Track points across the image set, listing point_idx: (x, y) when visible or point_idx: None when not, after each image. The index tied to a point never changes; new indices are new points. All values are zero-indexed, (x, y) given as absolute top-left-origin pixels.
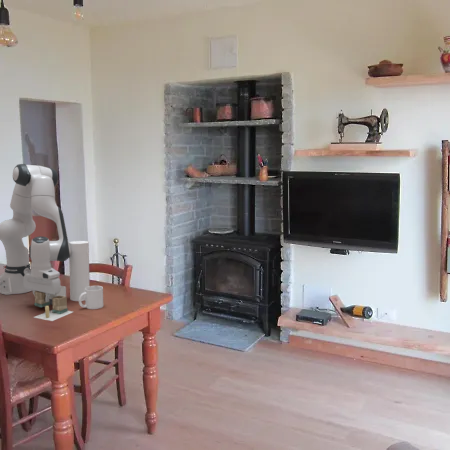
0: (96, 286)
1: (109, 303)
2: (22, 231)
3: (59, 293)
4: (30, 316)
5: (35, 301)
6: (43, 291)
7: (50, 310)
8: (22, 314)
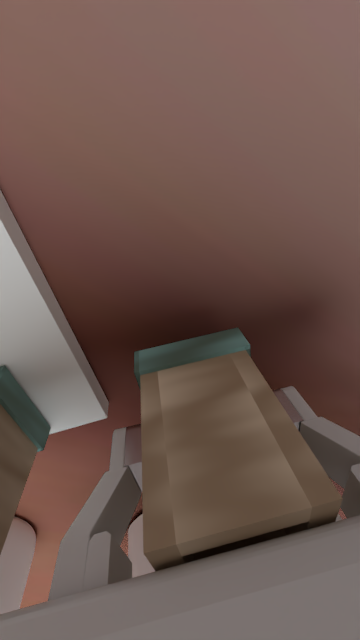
0: None
1: (30, 578)
2: None
3: None
4: (128, 199)
5: (244, 362)
6: (112, 619)
7: (85, 378)
8: (247, 183)
